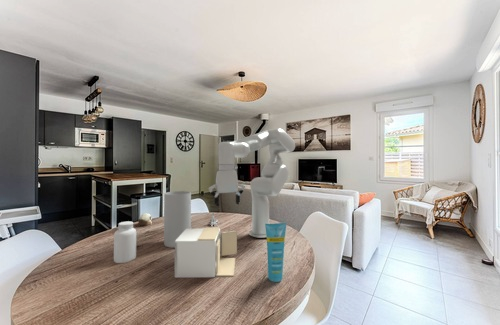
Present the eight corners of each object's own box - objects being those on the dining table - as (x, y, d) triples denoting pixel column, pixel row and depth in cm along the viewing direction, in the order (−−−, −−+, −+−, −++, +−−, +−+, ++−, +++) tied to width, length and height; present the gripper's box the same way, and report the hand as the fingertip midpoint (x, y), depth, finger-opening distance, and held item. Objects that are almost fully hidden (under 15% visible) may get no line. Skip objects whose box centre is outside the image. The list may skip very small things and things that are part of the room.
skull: (140, 220, 138) (152, 209, 138) (150, 232, 136) (161, 221, 136) (128, 224, 126) (141, 212, 126) (139, 237, 124) (151, 225, 124)
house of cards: (224, 226, 132) (224, 214, 132) (210, 227, 129) (210, 215, 129) (221, 222, 140) (221, 211, 141) (208, 223, 138) (208, 212, 138)
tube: (267, 283, 69) (267, 225, 69) (263, 275, 73) (263, 221, 73) (288, 280, 70) (288, 224, 70) (282, 273, 75) (283, 220, 75)
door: (216, 249, 93) (216, 227, 93) (231, 246, 96) (231, 226, 96) (220, 256, 86) (221, 233, 86) (236, 253, 88) (236, 231, 88)
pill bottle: (140, 256, 88) (140, 221, 88) (123, 265, 80) (123, 226, 80) (126, 253, 91) (126, 219, 91) (108, 262, 83) (109, 224, 83)
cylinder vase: (183, 237, 112) (183, 190, 112) (195, 243, 103) (195, 192, 103) (159, 243, 103) (160, 192, 103) (170, 250, 94) (171, 195, 94)
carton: (235, 258, 86) (235, 227, 86) (233, 277, 72) (233, 239, 72) (186, 258, 86) (186, 227, 86) (174, 277, 72) (174, 239, 72)
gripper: (242, 167, 103) (242, 201, 104) (207, 168, 98) (207, 204, 98) (246, 168, 96) (247, 204, 97) (209, 169, 91) (209, 208, 91)
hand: (227, 204), depth 98 cm, fingers open, 9 cm apart
